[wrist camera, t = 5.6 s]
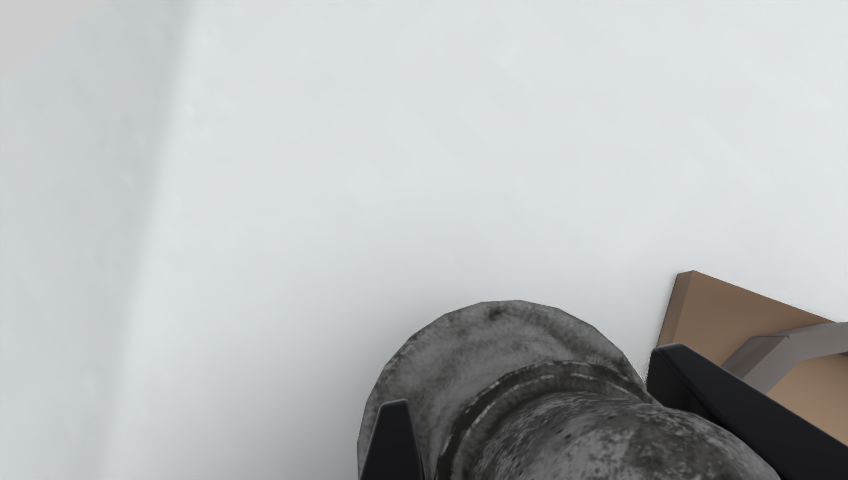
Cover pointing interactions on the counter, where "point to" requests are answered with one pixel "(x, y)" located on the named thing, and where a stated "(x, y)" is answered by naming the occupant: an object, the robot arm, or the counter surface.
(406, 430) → the robot arm
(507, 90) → the counter surface
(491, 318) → the salt shaker
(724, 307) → the board
